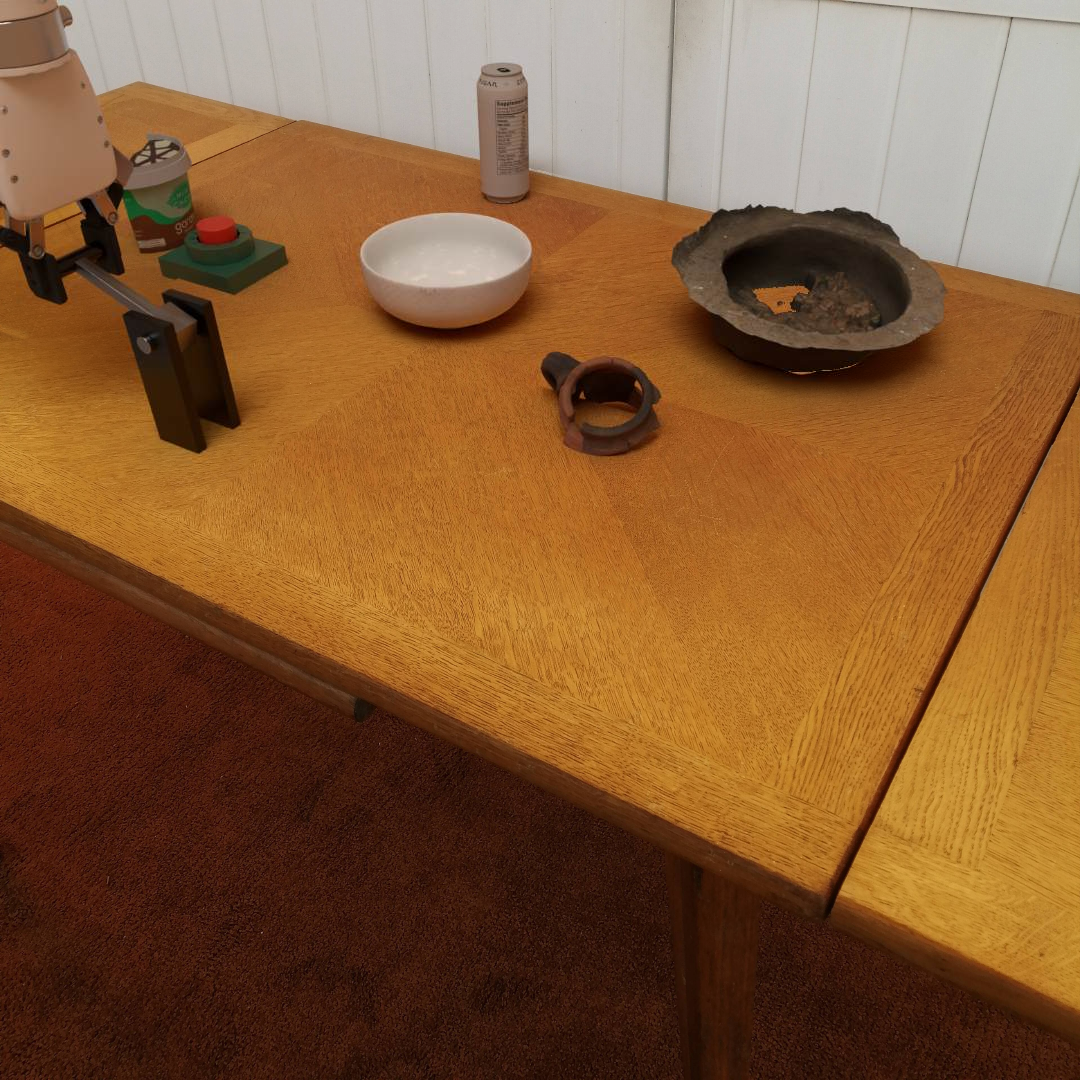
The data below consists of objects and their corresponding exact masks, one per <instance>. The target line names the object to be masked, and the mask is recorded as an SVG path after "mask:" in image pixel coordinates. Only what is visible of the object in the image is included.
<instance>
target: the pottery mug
mask: <svg viewBox="0 0 1080 1080" xmlns="http://www.w3.org/2000/svg"><path fill="white" fill-rule="evenodd" d="M540 372H541V374H542V376H543V378H544V379H545V381H546V382H547V383H548V385H549V386H550V388H551V389H552V390H553V391H554V392H555V394H556V396H557V398H558V402H557V403H558V411H559V412H558V413H559V419H560V422H561V424H562V427H563V429H564V431H565V435H564V438H563V441H562V444H563V445H565V446H566V447H568V448H569V449H571V450H573V451H575V452H578V453H582V454H585V455H590V456H595V457H603V456H611V455H616V454H620V453H624V452H627V451H629V450H630V445H631V446H637V445H638V444H640V443H641V442H643V440H644V439H645V437H646V436H647V435H649V434H650V433H651V432H652V431H655V430H658V429H660V428H661V425H660V421H659V417H658V415H657V413H656V411H655V409H654V406H653V405H657V404H658V403H659V402H660V400H661V399H662V398H663V397H662V394H661V391H660V390H659V388H658V387H657V386H656V385H655V384H654V383H653V382H652V381H651V380H650V379H649V377H648V376H647V374H646V372H644V370H642V369H641V368H640V367H639V366H638V365H637V366H636V364H635V363H632V362H631V361H629V360H626V359H624V358H622V357H617V356H613V357H612V356H609V355H605V356H597V357H592V358H589V359H587V360H585V361H583V362H581V361H580V360H577V359H575V358H574V357H573V356H571V355H569V354H567V353H563V352H561V351H551V352H548V353H547V354H546V356H545V357H544V358H542V361H541V365H540ZM636 382H637V383H638V384H639V386H640V388H639V387H638V386H637V385H636ZM582 393H583V398H584V399H585V400H586V401H590V402H593V403H596V404H599V405H601V404H605V403H606V404H607V403H623V404H627V405H628V406H630V407H632V408H634V409H635V410H637V411H636V413H635V415H634V416H633V417H632V418H630V419H629V420H627V421H625V422H624V423H622V424H620V425H615V426H607V427H605V426H604V427H603V426H597V425H593V424H590V423H588V422H586V421H583V422H582V424H581V425H582V426H579V425H578V424H577V422H576V420H575V419H576V411H575V409H574V406H573V404H574V403H576V402H578V401H579V399H580V397H581V395H582Z"/></svg>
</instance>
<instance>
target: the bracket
mask: <svg viewBox="0 0 1080 1080" xmlns="http://www.w3.org/2000/svg"><path fill="white" fill-rule="evenodd" d="M161 297H162V301H163V305H164V304H166V303H168V302H171V303H173V304H174V305H176V306H177V307H178V308H180V309H181V310H183V311H184V312H186V313H187V314H189V315H190V316H191V317H193V318H194V319H196V320H197V337H196V344H195V345H193V346H191V347H190V348H188V349H186V350H185V351H183V352H181V350H180V346H179V343H178V339H177V335H176V332H175V328H174V324H173V323H172V322H169V321H166V320H162V319H159V318H156V317H153V316H150V315H147V314H144V313H141V312H137V311H134V310H127V311H126V312H124V313H122V315H121V317H122V319H123V322H124V323H123V324H124V325H125V329H126V333H127V336H128V339H129V342H130V345H131V348H132V349H131V350H132V352H133V355H134V359H135V363H136V366H137V368H138V369H137V370H138V372H139V375H140V378H141V381H142V385H143V388H144V391H145V394H146V399H147V401H148V404H149V408H150V410H151V413H152V417H153V421H154V423H155V427H156V431H157V433H158V437H159V439H160V440H161V441H163V442H165V443H169V444H171V445H174V446H176V447H178V448H179V447H180V448H182V449H184V450H187V451H189V452H192V453H194V454H198V455H200V454H201V453H203V452H204V451H205V450H207V449H208V446H207V442H206V439H205V435H204V432H203V431H204V430H203V428H202V424H201V420H200V419H202V420H205V421H208V422H210V423H213V424H216V425H219V426H222V427H224V428H226V429H230V430H232V431H234V430H235V429H237V428H239V426H241V425H242V422H241V418H240V413H239V409H238V405H237V401H236V398H235V393H234V389H233V385H232V381H231V380H232V379H231V377H230V372H229V368H228V364H227V360H226V355H225V352H224V348H223V343H222V340H221V334H220V331H219V327H218V323H217V322H218V321H217V318H216V315H215V311H214V306H213V305H214V304H213V302H212V300H210V299H206V298H202V297H200V296H197V295H193V294H190V293H187V292H183V291H180V290H177V289H174V288H168V289H166V290H165V291H163V292H162V293H161Z"/></svg>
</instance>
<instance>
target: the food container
mask: <svg viewBox="0 0 1080 1080" xmlns="http://www.w3.org/2000/svg"><path fill="white" fill-rule="evenodd" d="M145 136H146V141H147V142H146V144H145V145H144V146H143V148H141V149H140V150H138V151H137V152H135V153H133V154H132V156H131V157H130V158H129V160H130V161H131V162H132V163H133V165H134V169H133V172H132V174H131V176H130V178H129V180H128V182H127V184H126V186H125V187H123V189H124V194H123V197H122V202H123V205H124V208H125V211H126V214H127V218H128V221H129V223H130V226H131V229H132V232H133V235H134V238H135V241H136V244H137V247H138V250H139V253H140V255H146V254H155V253H163V252H169V251H172V250H174V249H176V248H178V247H180V246H182V245H184V244H185V242H184V239H185V237H186V236H187V234H188V233H189V232H191V231H193V230H195V229H197V228H196V224H197V222H196V217H195V216H196V215H195V210H194V204H193V199H192V193H191V192H192V191H191V186H190V180H189V173H188V171H190V169H191V168H192V164H193V162H192V160H191V157H190V155H189V153H188V151H187V149H186V147H185V146H184V145H183V143H182V141H181V140H180V139H179V138H177V137H175V136H172V135H168V134H163V133H153V132H152V133H151V132H149V133H148V132H146V133H145Z"/></svg>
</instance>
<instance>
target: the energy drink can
mask: <svg viewBox="0 0 1080 1080" xmlns="http://www.w3.org/2000/svg"><path fill="white" fill-rule="evenodd" d="M480 72H481V73H480V75H479V77H478V79H477V82H476V102H477V103H476V104H477V105H476V106H477V124H478V126H477V127H478V144H479V145H478V146H479V169H480V186H481V187H480V189H481V192H483V193H484V195H485V198H486V197H487V198H486V199H487V200H488V201H490V202H492V203H496V202H497V204H511V202H513V203H517V202H519V201H518V200H520V201H522V200H523V199H524V198H525V197H526V193H527V192H528V191H529V190H530V146H529V142H530V140H529V139H530V138H529V83H528V80H527V79H526V77H525V75H524V73H523V66H522V65H520V64H517V63H512V62H492V63H487V64H485V65H483V66H481V68H480ZM524 196H525V197H524ZM523 197H524V198H523ZM522 198H523V199H522ZM521 199H522V200H521ZM516 201H517V202H516Z"/></svg>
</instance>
